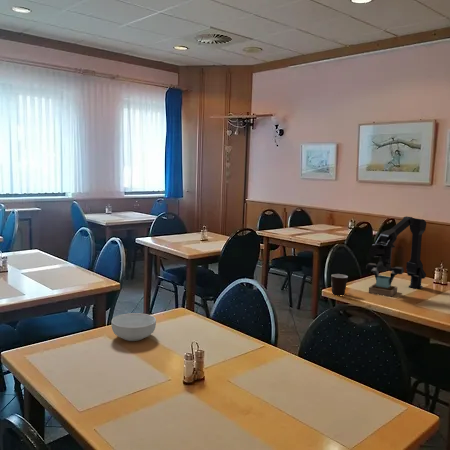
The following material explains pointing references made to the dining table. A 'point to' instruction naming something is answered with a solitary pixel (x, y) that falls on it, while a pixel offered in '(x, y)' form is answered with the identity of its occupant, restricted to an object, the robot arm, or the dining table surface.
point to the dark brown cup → (338, 284)
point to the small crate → (383, 281)
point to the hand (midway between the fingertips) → (383, 283)
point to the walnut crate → (383, 290)
